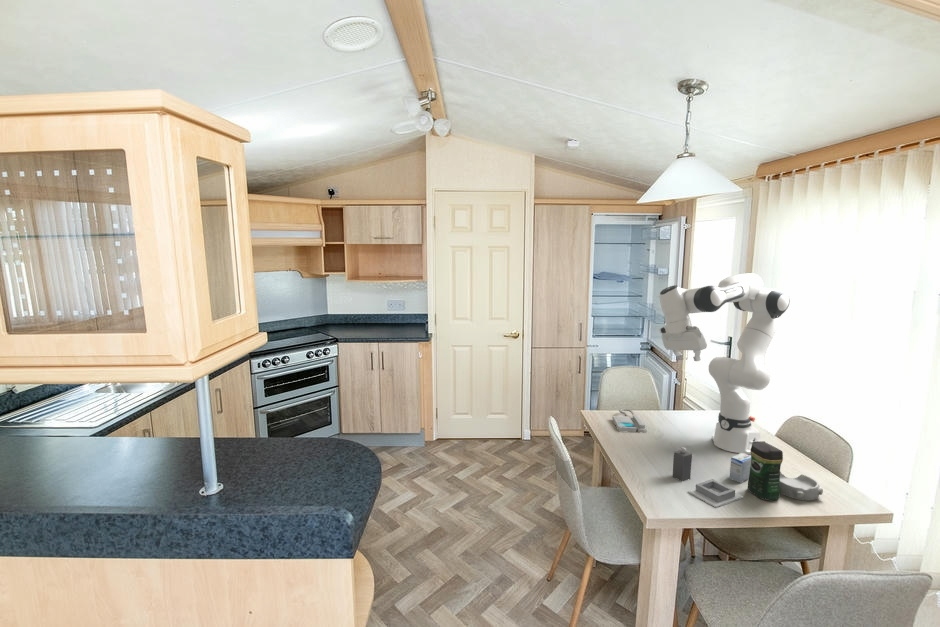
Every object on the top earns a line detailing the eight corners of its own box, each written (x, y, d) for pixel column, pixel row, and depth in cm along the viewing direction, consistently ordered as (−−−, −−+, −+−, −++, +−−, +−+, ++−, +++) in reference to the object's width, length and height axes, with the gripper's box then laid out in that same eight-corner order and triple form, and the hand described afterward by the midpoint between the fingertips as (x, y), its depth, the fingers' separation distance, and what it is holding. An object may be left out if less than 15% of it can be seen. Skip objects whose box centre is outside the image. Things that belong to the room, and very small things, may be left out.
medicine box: (739, 473, 177) (741, 452, 176) (751, 477, 173) (753, 456, 172) (728, 478, 173) (730, 457, 171) (741, 483, 169) (743, 461, 168)
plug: (680, 474, 176) (682, 444, 175) (690, 479, 172) (692, 449, 171) (672, 476, 174) (674, 446, 173) (682, 481, 170) (684, 451, 169)
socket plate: (713, 483, 169) (714, 476, 168) (742, 498, 159) (743, 490, 158) (687, 492, 163) (688, 484, 162) (715, 507, 153) (716, 499, 152)
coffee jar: (783, 501, 157) (788, 450, 155) (762, 502, 156) (767, 451, 154) (763, 486, 167) (767, 438, 164) (743, 487, 166) (747, 439, 163)
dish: (762, 482, 170) (764, 469, 170) (800, 482, 170) (801, 470, 169) (788, 503, 156) (789, 489, 155) (829, 503, 156) (831, 490, 155)
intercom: (633, 406, 240) (647, 424, 216) (633, 414, 241) (646, 433, 216) (608, 406, 242) (618, 423, 217) (608, 413, 242) (618, 432, 218)
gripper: (705, 323, 170) (715, 358, 170) (668, 325, 190) (677, 357, 190) (691, 328, 168) (701, 364, 169) (656, 329, 188) (665, 361, 188)
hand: (688, 360), depth 180 cm, fingers open, 8 cm apart
